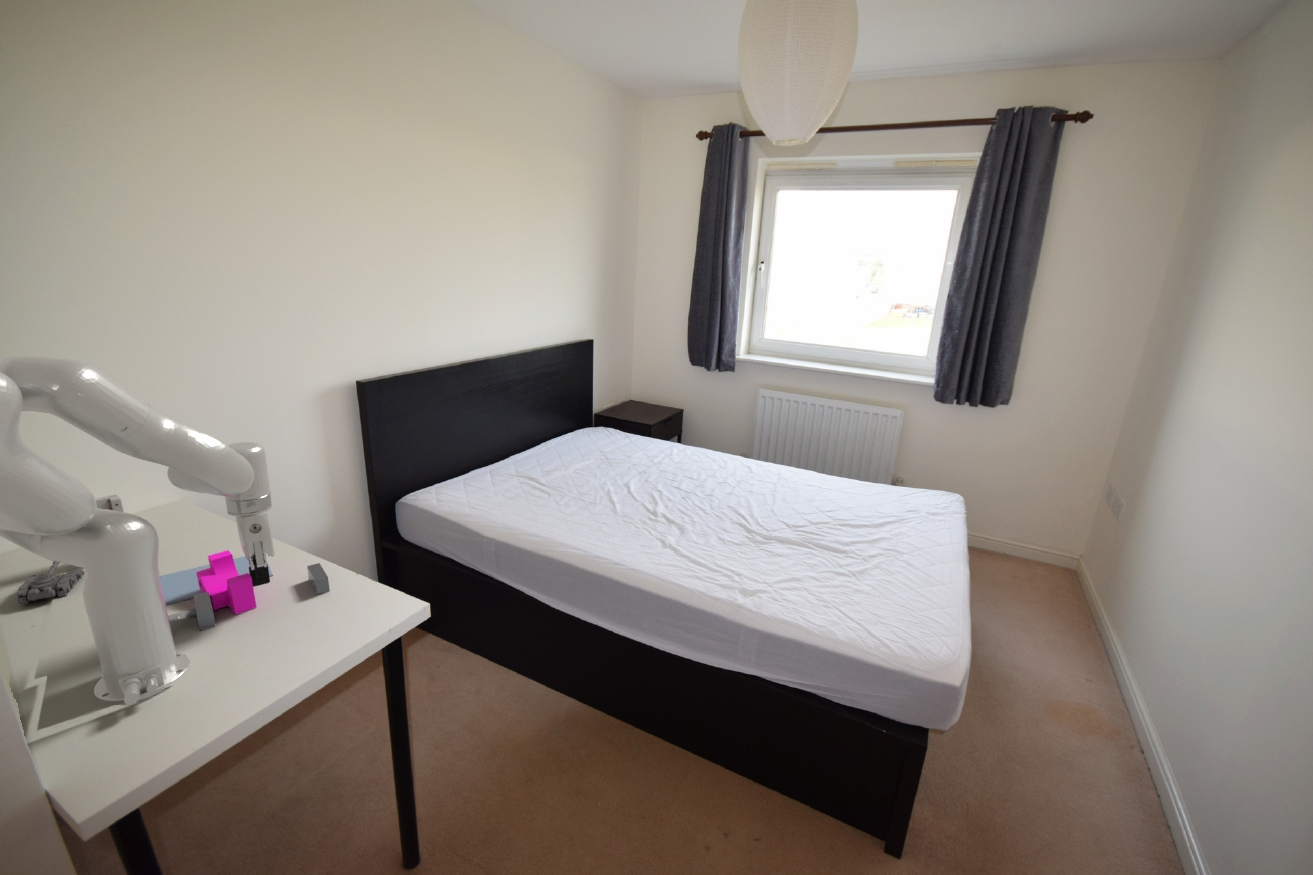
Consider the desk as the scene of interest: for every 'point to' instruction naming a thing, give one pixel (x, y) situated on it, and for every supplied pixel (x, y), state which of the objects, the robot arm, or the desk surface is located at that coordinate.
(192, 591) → the rubber mat
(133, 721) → the desk surface
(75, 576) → the tank toy
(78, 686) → the desk surface
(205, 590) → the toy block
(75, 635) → the desk surface
